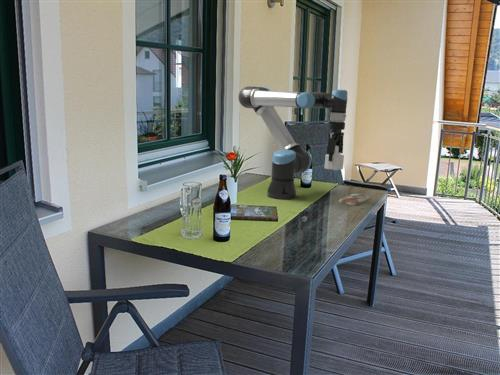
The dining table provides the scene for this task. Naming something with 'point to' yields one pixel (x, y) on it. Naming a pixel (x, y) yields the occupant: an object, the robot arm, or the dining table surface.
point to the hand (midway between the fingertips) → (333, 166)
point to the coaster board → (353, 199)
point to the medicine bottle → (335, 159)
